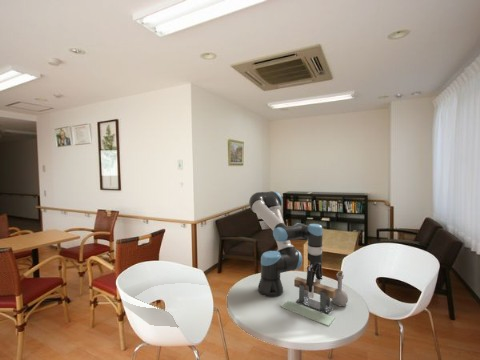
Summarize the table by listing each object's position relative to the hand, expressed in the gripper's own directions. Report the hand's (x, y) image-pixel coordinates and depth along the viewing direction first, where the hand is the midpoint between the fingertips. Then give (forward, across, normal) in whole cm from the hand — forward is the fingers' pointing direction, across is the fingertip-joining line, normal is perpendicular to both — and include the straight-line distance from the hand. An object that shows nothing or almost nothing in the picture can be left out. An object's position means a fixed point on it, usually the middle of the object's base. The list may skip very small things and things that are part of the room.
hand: (314, 293), depth 139 cm
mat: (+6, -9, 0) cm, 11 cm away
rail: (-2, 0, 0) cm, 2 cm away
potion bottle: (+7, +11, -10) cm, 16 cm away
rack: (+6, 0, 0) cm, 6 cm away
